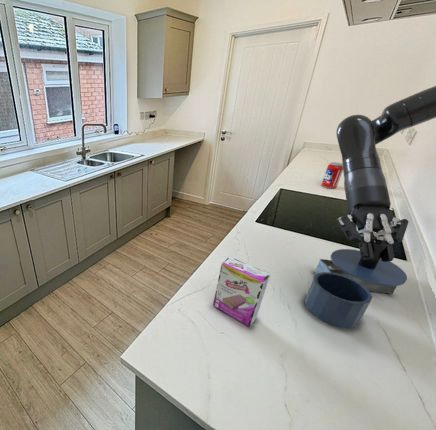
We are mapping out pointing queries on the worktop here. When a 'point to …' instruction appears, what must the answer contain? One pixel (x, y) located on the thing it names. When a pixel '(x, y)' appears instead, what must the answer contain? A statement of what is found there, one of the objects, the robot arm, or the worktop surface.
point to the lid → (369, 266)
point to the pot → (337, 299)
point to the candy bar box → (240, 290)
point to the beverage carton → (330, 267)
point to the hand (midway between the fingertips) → (378, 260)
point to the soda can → (332, 175)
